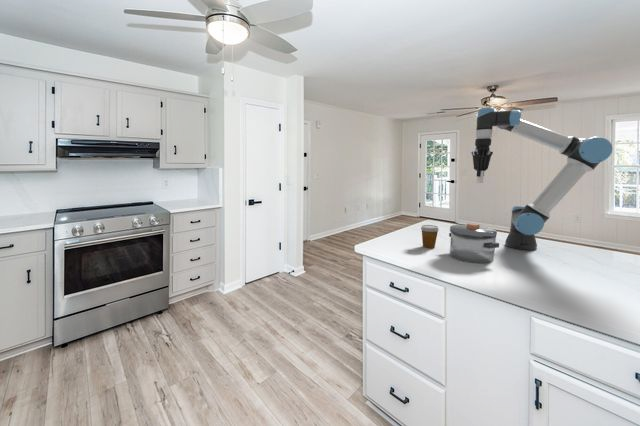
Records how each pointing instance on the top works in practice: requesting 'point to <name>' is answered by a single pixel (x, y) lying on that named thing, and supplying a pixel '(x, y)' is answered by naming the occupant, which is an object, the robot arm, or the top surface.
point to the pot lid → (473, 231)
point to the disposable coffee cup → (429, 236)
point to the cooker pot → (472, 248)
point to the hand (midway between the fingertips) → (479, 182)
